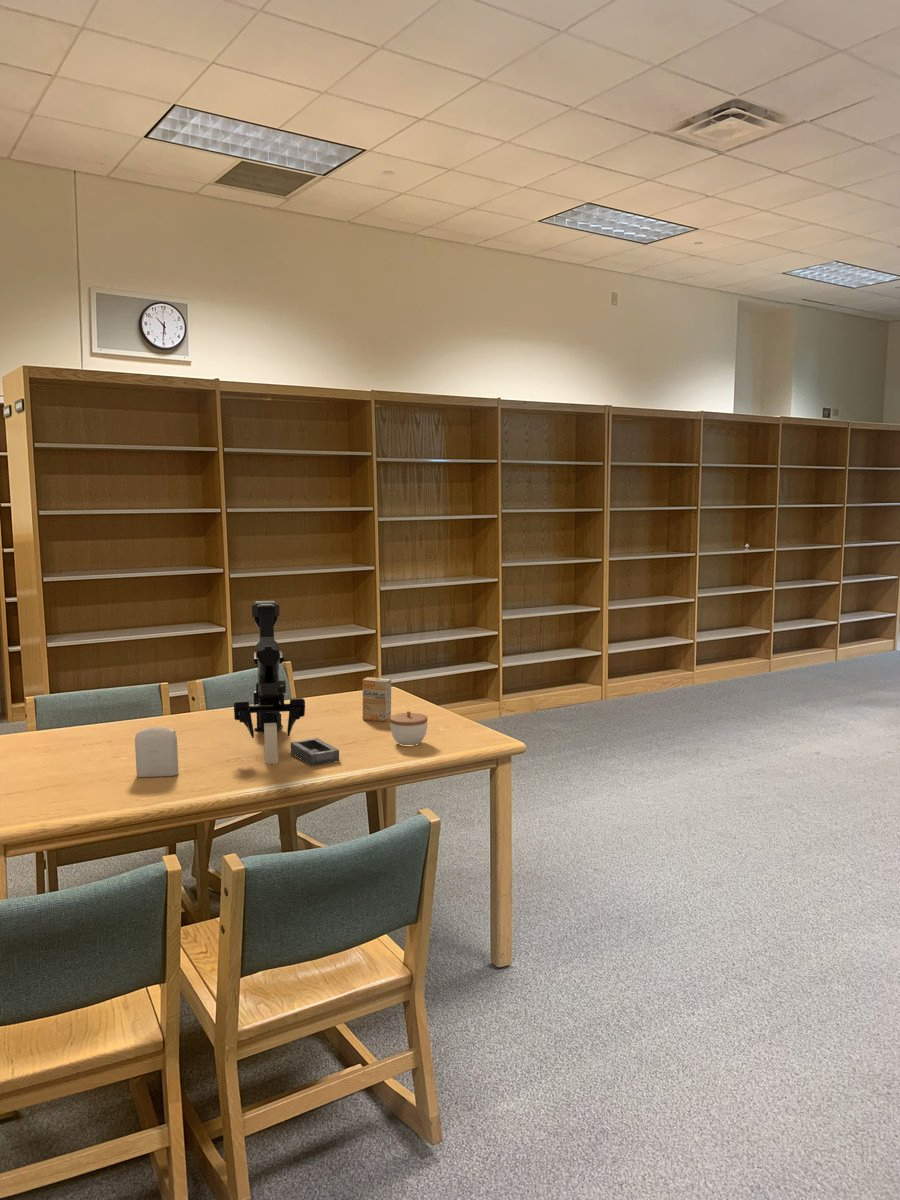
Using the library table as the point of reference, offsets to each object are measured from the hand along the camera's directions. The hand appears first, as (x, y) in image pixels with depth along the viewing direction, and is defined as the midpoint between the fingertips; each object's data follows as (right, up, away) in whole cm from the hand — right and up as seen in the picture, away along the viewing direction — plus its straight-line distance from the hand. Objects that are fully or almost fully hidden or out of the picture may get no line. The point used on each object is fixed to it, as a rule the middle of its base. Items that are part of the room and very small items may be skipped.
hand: (270, 736), depth 229 cm
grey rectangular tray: (+11, -6, +6) cm, 14 cm away
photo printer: (-27, -8, -10) cm, 30 cm away
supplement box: (+24, -2, +46) cm, 52 cm away
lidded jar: (+36, -5, +19) cm, 41 cm away
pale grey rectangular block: (0, -7, +2) cm, 7 cm away
